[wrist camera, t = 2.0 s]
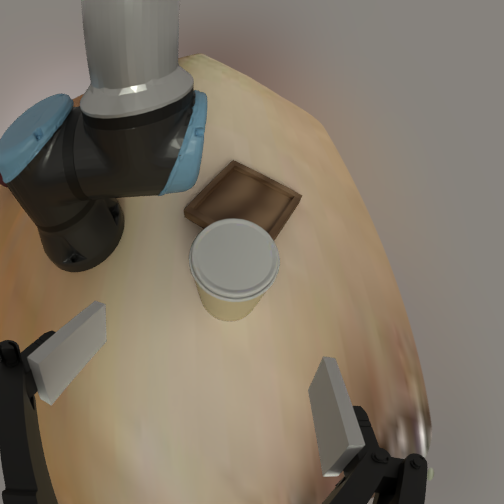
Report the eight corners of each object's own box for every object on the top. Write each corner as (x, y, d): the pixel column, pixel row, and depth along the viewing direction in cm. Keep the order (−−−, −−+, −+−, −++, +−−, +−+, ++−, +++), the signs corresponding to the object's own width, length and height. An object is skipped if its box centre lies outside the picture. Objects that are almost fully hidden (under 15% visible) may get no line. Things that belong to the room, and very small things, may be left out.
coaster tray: (184, 217, 43) (183, 209, 42) (232, 167, 50) (233, 160, 48) (260, 261, 41) (262, 255, 40) (299, 202, 48) (302, 195, 46)
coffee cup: (275, 297, 39) (299, 258, 28) (227, 342, 35) (233, 318, 24) (230, 253, 41) (237, 202, 31) (181, 291, 37) (169, 249, 27)
